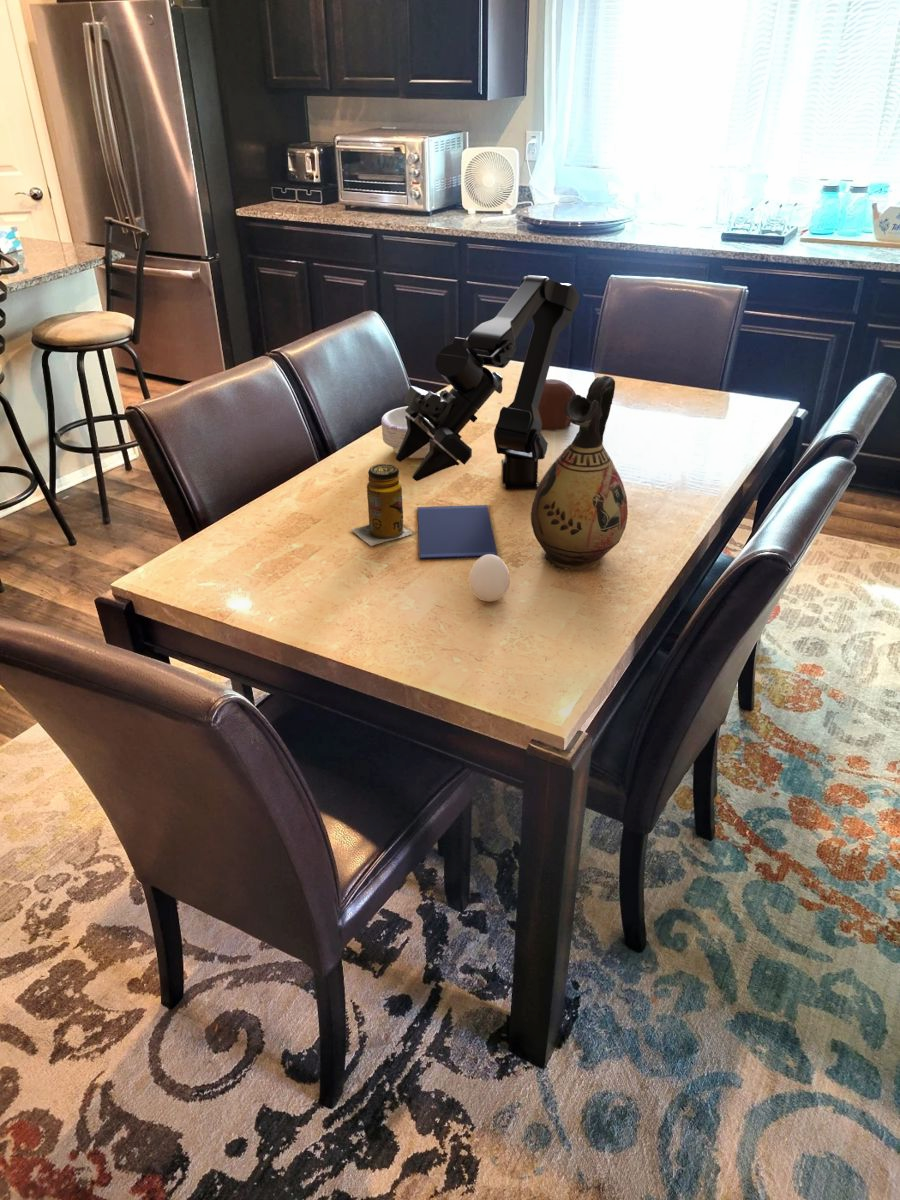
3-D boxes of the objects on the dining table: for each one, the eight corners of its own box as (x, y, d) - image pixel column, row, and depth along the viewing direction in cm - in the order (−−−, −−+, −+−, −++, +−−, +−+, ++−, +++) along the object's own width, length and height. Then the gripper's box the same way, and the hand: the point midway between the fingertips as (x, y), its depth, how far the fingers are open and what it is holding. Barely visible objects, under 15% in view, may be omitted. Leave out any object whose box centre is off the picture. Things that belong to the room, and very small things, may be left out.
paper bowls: (371, 458, 181) (368, 422, 177) (401, 435, 193) (399, 401, 189) (437, 468, 176) (436, 431, 172) (463, 443, 188) (463, 408, 184)
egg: (474, 611, 128) (474, 567, 124) (465, 591, 133) (465, 548, 129) (513, 607, 129) (515, 563, 125) (503, 587, 134) (504, 544, 130)
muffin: (583, 421, 199) (586, 379, 194) (562, 435, 191) (565, 392, 186) (538, 413, 205) (540, 371, 200) (516, 426, 197) (517, 383, 192)
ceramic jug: (600, 590, 133) (617, 402, 117) (513, 565, 140) (518, 386, 124) (640, 546, 145) (660, 372, 129) (558, 526, 152) (568, 358, 137)
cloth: (487, 506, 159) (487, 504, 159) (497, 557, 142) (497, 555, 142) (417, 509, 159) (417, 507, 159) (419, 559, 142) (419, 557, 142)
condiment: (413, 534, 150) (410, 470, 144) (371, 546, 146) (366, 482, 140) (392, 519, 155) (389, 457, 149) (351, 531, 151) (346, 468, 145)
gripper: (414, 355, 147) (356, 425, 149) (453, 385, 132) (388, 462, 134) (457, 394, 153) (401, 461, 155) (499, 427, 138) (436, 500, 140)
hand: (405, 469), depth 146 cm, fingers open, 9 cm apart
